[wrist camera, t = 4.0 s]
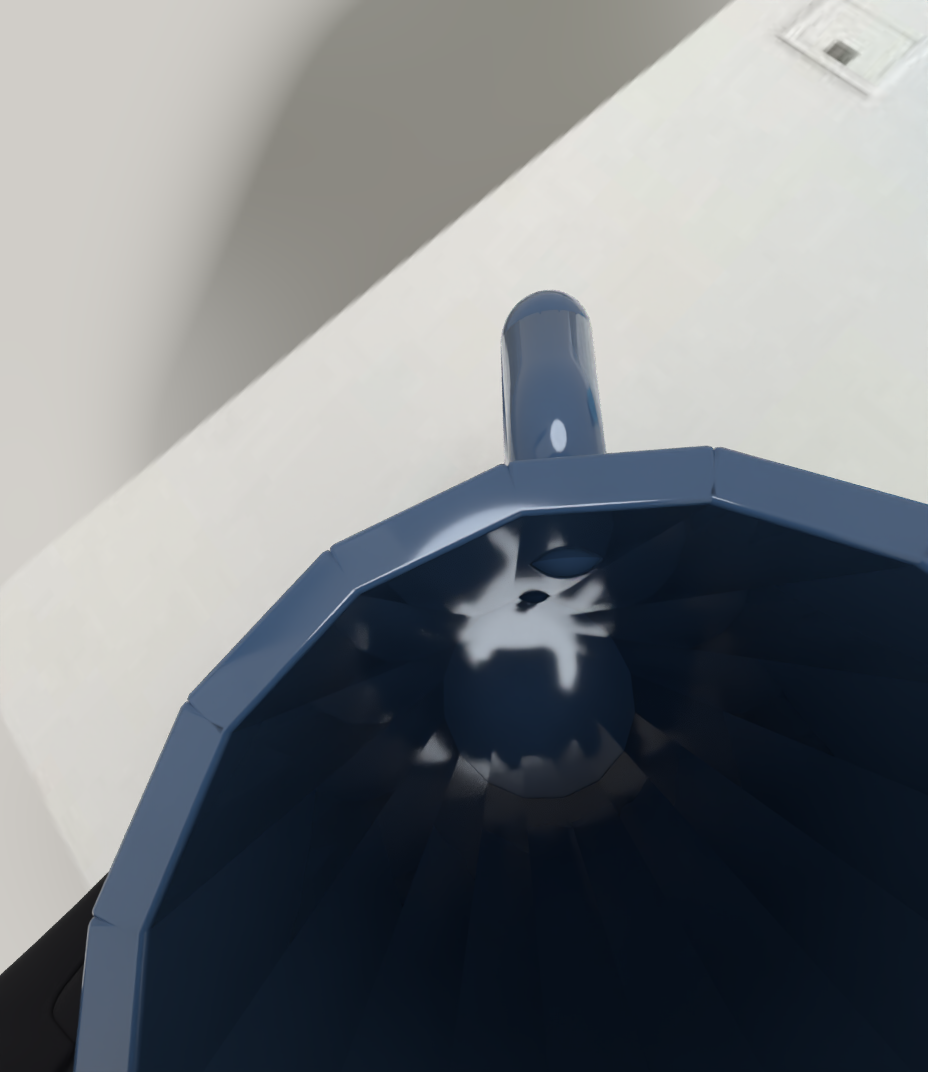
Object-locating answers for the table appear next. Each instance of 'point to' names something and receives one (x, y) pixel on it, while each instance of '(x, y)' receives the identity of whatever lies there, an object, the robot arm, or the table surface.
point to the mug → (548, 780)
